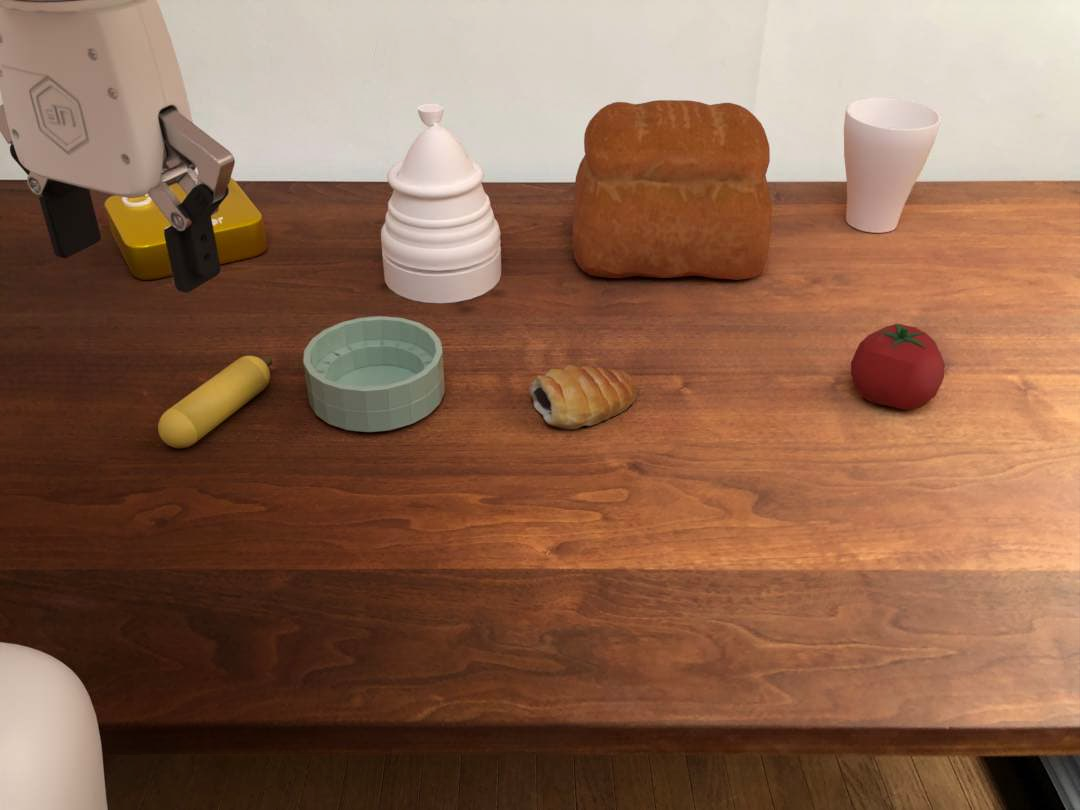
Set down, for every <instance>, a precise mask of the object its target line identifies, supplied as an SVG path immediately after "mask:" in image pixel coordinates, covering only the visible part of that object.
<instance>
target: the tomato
mask: <svg viewBox="0 0 1080 810" xmlns="http://www.w3.org/2000/svg"><path fill="white" fill-rule="evenodd" d="M938 347H939V346H938V345H937V343H936V341H935V340H934V339H933V338H932V337H931V336H930V335H929V334H928V333H926V332H925V331H924V330H922V329H920V328H918V327H916V326H911V325H906V324H902V323H897V322H896V323H895V324H892V325H887V326H885V327H882V328H880V329H878V330H876V331H874V332H872V333H870V334H868V335H867V336H865V338H864V339H862V340H861V341H860V342H859V344H858V346H857V348H856V349H855V352H854V354H853V357H852V359H851V361H850V376H851V379H852V382H853V384H854V386H855V388H856V390H857V391H858V393H859V394H860V395H861V396H862V397H863V398H864V399H866V400H868V401H870V402H872V403H875V404H879V405H882V406H883V405H884V406H888V407H892V408H896V409H901V410H905V411H908V410H909V411H910V410H915V409H919V408H921V407H923V406H925V405H927V404H928V403H930V401H932V399H934V398H935V397H937V394H938V392H939V389H940V388H941V386H942V383H943V381H944V378H945V369H946V368H945V366H946V364H945V361H944V358H943V355H942V352H941V351H940V350H939V348H938Z"/></svg>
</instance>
